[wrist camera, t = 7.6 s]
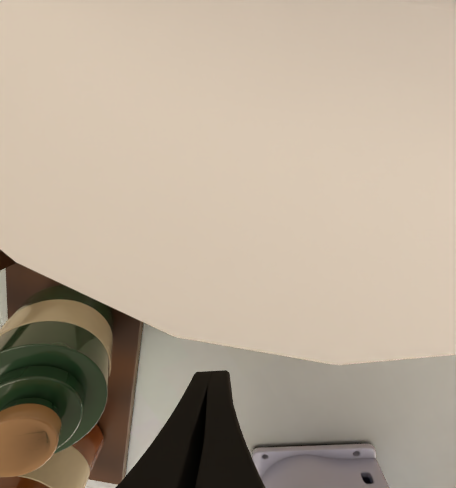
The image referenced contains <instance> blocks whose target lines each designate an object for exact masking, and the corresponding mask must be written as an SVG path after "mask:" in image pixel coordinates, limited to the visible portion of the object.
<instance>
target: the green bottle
mask: <svg viewBox="0 0 456 488" xmlns="http://www.w3.org/2000/svg"><path fill="white" fill-rule="evenodd" d="M113 328H114V319H113V314H112V311H111V309H110V307H109V306H108V305H106V304H103V303H101V302H99V301H97V300H95V299H93V298H91V297H89V296H86V295H84V294H82V293H80V292H78V291H76V290H74V289H72V288H70V287H67V286H65V285H60V286H53V287H49V288H46V289H43V290H41V291H39V292H37V293H35V294H33V295H32V296H30V297H29V298H28V299H27V300H25V301H24V302H23V303H22V305H21V306H20V307H19V308H18V309H17V311H16V312H15V313H14V314H13V315H12V317H10V318H9V319H8V320H7V321H6V323H5V324H4V325H3V326H2V327H1V329H0V477H6V478H7V477H16V476H21V475H24V474H27V473H30V472H32V471H34V470H36V469H38V468H39V467H41V466H42V465H44V464H45V463H46V462H47V461H48V460H49V459H50V458H51V457H52V455H53V454H55V453H58V452H60V451H62V450H64V449H66V448H68V447H70V446H72V445H73V444H75V443H76V442H78V441H79V440H80V439H82V438H83V437H84V436H85V435H86V434H87V433H88V432H89V431H91V429H92V428H93V427H94V426H95V425H96V423H97V422H98V420H99V419H100V417H101V415H102V413H103V411H104V409H105V406H106V403H107V396H108V385H109V376H110V372H111V363H112V350H113Z"/></svg>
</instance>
